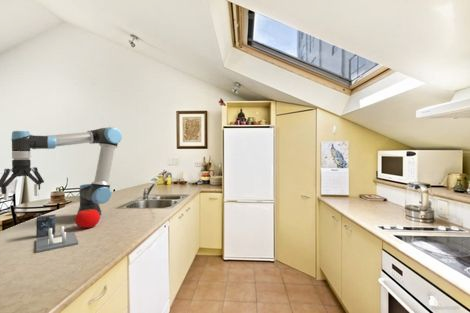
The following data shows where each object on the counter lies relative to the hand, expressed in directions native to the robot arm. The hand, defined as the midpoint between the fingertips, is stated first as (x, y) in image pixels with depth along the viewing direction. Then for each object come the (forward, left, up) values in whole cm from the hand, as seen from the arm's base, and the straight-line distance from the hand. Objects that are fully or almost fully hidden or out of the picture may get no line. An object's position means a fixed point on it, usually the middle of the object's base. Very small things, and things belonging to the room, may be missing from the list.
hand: (22, 197), depth 129 cm
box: (-10, +8, -21) cm, 25 cm away
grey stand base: (-14, +25, -21) cm, 35 cm away
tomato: (-30, +6, -21) cm, 37 cm away
